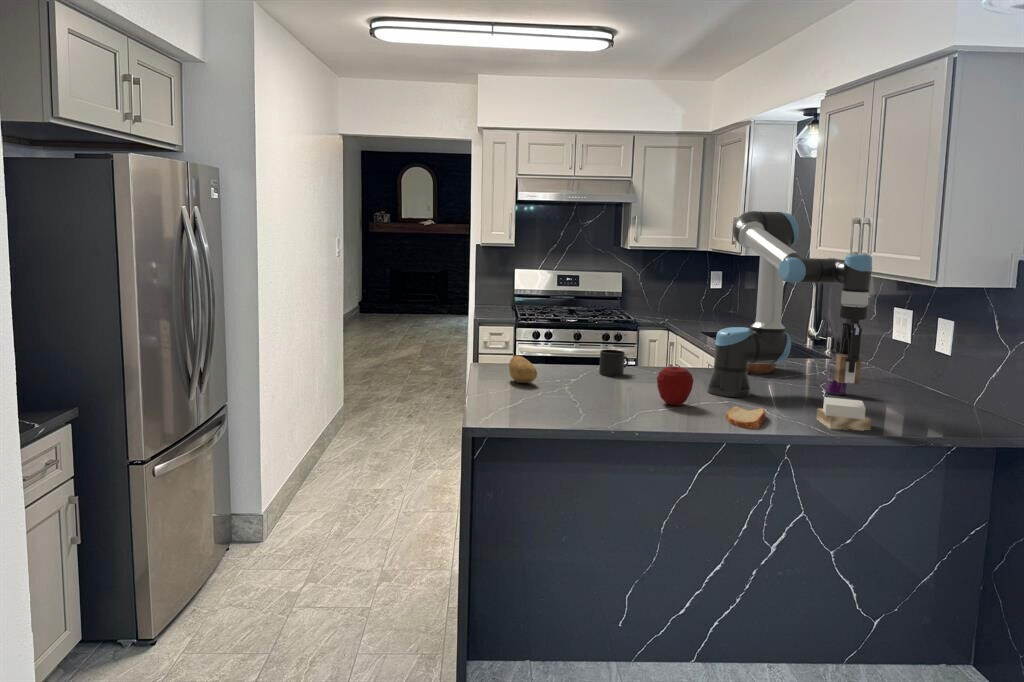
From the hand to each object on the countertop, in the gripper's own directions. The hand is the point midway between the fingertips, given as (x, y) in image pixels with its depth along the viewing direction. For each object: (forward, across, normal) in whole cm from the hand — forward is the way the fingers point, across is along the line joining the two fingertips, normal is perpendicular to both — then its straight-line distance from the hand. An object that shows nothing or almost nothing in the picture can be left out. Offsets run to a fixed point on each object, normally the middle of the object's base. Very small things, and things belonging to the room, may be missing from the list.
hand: (846, 380), depth 245 cm
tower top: (+10, 0, 0) cm, 10 cm away
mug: (+14, +57, +73) cm, 94 cm away
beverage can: (+14, +49, -8) cm, 52 cm away
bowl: (+14, +87, +18) cm, 90 cm away
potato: (+14, +27, +105) cm, 109 cm away
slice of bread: (+14, -4, +28) cm, 32 cm away
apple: (+14, +10, +51) cm, 54 cm away
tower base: (+14, 0, 0) cm, 14 cm away
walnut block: (0, 0, 0) cm, 0 cm away
